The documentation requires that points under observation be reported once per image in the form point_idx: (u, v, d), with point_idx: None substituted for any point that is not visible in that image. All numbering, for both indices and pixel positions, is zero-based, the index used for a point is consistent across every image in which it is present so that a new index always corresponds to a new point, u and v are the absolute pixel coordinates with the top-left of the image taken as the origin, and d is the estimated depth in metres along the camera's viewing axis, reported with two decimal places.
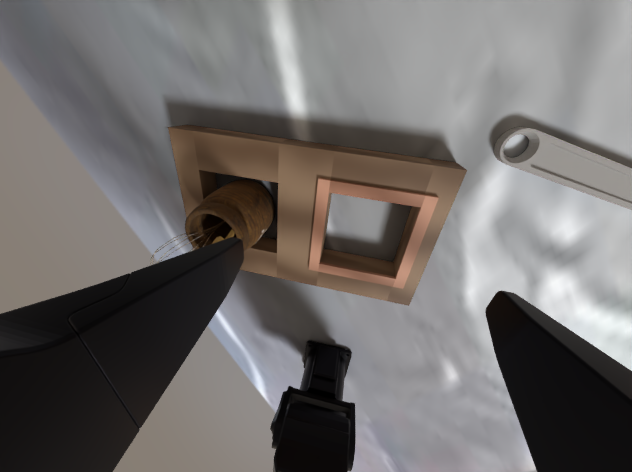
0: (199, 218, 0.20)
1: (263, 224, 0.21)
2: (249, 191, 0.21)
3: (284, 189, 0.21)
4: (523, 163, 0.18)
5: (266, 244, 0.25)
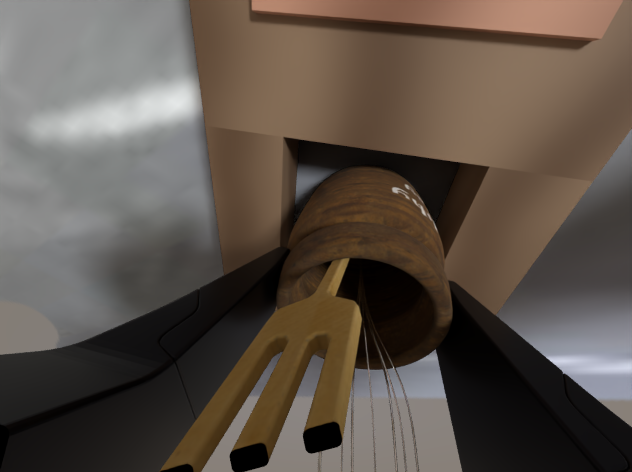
0: None
1: (375, 185, 0.08)
2: None
3: (296, 121, 0.09)
4: None
5: (459, 197, 0.10)
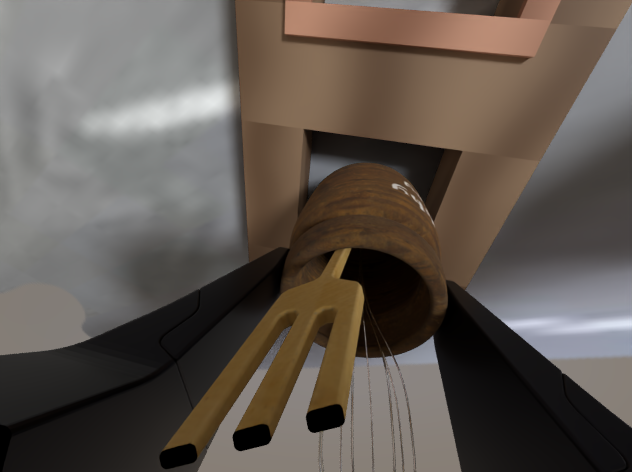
0: None
1: (376, 181, 0.09)
2: (307, 201, 0.10)
3: (314, 116, 0.11)
4: None
5: (442, 177, 0.13)
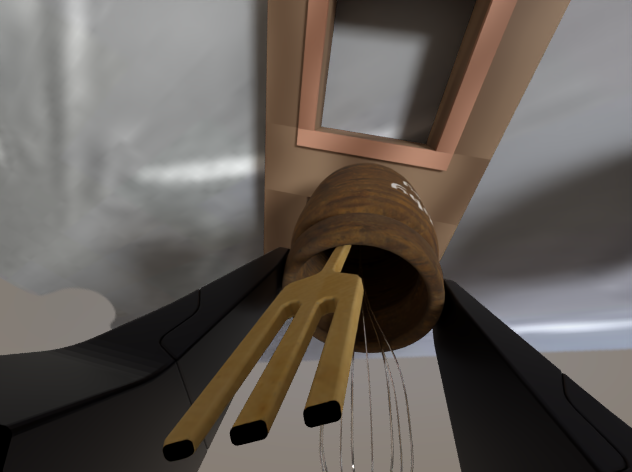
0: None
1: (375, 180, 0.09)
2: None
3: (314, 190, 0.17)
4: None
5: None
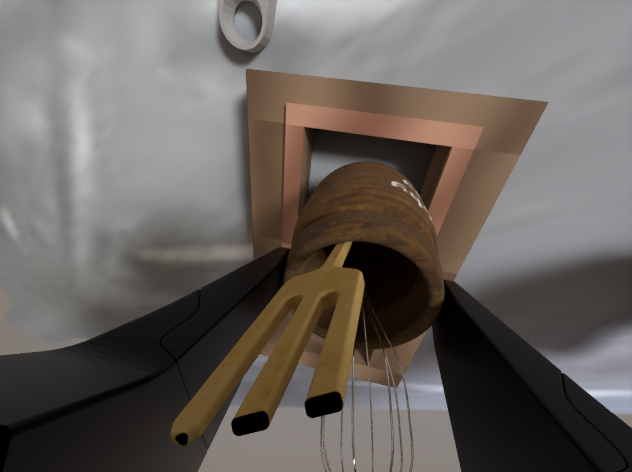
0: (332, 306, 0.10)
1: (376, 178, 0.09)
2: (309, 198, 0.11)
3: None
4: (260, 0, 0.12)
5: None
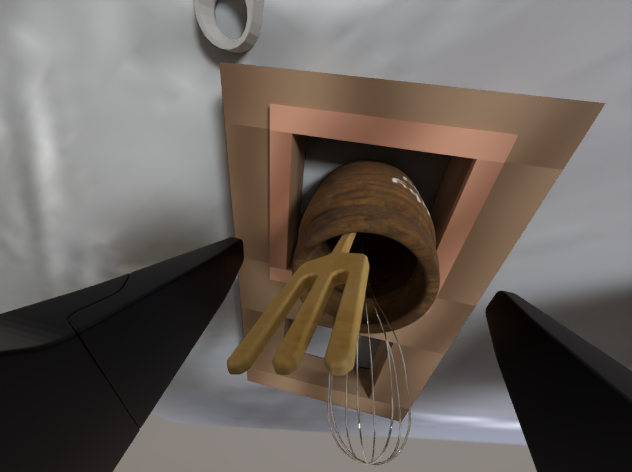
0: (336, 295, 0.10)
1: (378, 175, 0.09)
2: (314, 194, 0.11)
3: (292, 313, 0.16)
4: None
5: None
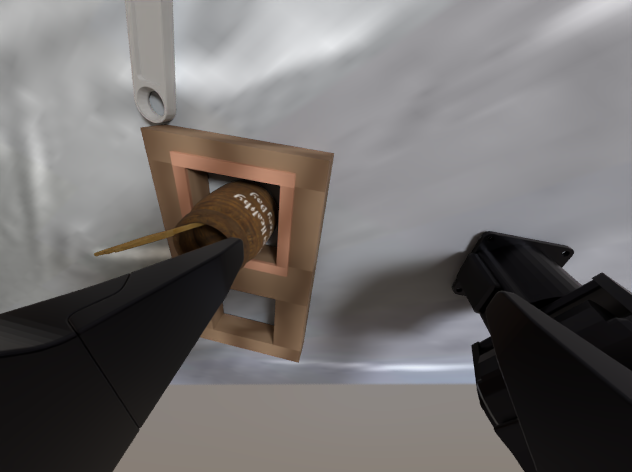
0: None
1: (228, 193, 0.17)
2: None
3: None
4: (161, 94, 0.17)
5: None
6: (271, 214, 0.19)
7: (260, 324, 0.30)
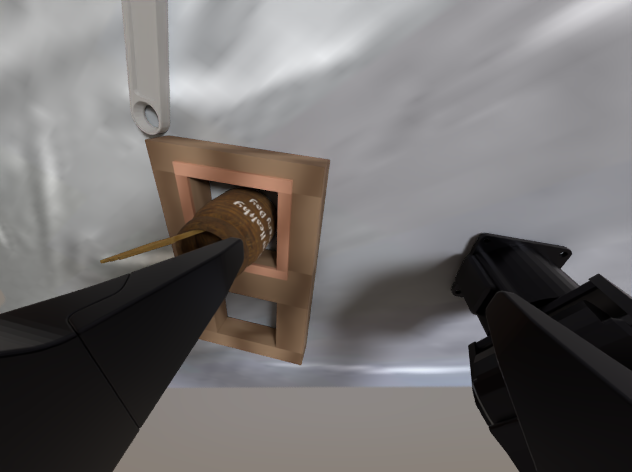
0: None
1: (228, 200, 0.18)
2: None
3: None
4: (155, 108, 0.18)
5: None
6: (270, 219, 0.20)
7: (263, 327, 0.30)
